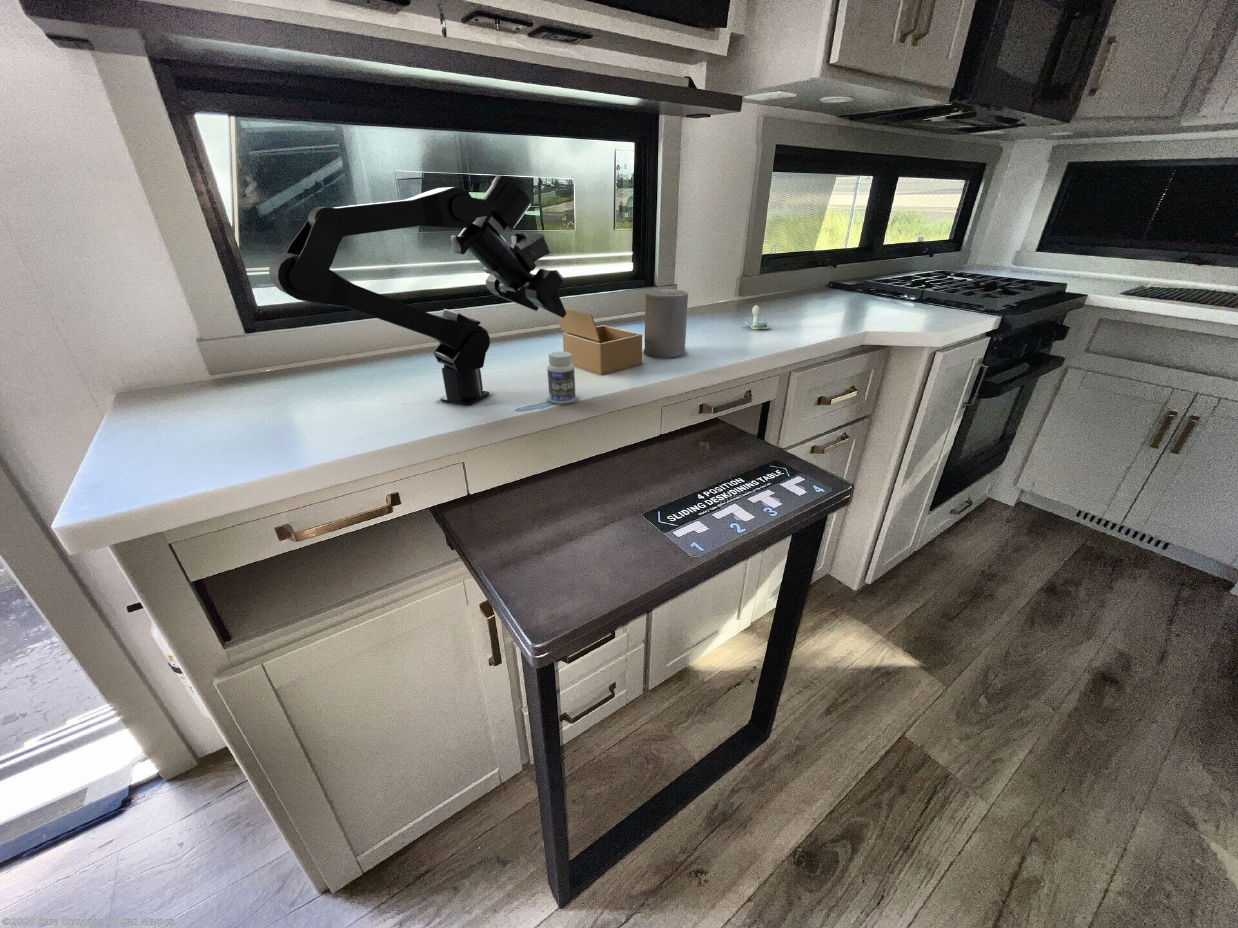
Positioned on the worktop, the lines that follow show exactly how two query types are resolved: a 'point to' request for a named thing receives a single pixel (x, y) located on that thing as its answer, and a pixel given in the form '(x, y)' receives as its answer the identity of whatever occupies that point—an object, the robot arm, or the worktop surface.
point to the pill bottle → (561, 378)
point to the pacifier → (756, 320)
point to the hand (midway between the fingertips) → (550, 312)
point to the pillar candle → (665, 322)
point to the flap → (579, 324)
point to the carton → (605, 350)
